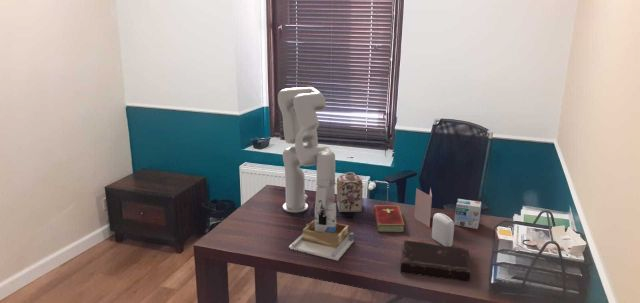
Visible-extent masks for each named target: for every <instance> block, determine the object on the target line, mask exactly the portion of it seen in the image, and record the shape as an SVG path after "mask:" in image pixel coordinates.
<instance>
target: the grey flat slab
mask: <svg viewBox="0 0 640 303" xmlns="http://www.w3.org/2000/svg"><path fill="white" fill-rule="evenodd" d="M309 224H310V223H309V222H307V223H306V224H305V227H306V226H308V225H309ZM354 235H355V233H354V232H349V235H348V236H347V237H346V238H345V239H344V240H343V241H342V242H341V244H340V245H339V246H338V247H337V248H333V247H329V246H324V245H320V244H316V243H312V242H307V241H303V233H302V234H301V235H299V236H298V237H297V238H296V239H295V240H293V242H292V243H291V244H290V245H288V249H289V248H290V250H293V249H294V251H297V250H298V252H301V253H305V252H306V254H309V255H314V256H317V257H322V258H325V259H330V260H334V261H339V260H340V259H341V257H342V256H343V255H344V254H345V252H347V250H348V249H349V248H350V247H351V246H352V244H353V243H354V238H355V237H354Z"/></svg>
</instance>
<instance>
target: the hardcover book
mask: <svg viewBox="0 0 640 303" xmlns="http://www.w3.org/2000/svg"><path fill="white" fill-rule="evenodd" d="M373 212H374V218H375V223H376V230H377V232H399V233H401V232H402V233H403V232H404V227H405V225H406V224H405V222H404V219H403V215H402V212H401V209H400V205H384V204H383V205H379V204H376V205H374V207H373Z"/></svg>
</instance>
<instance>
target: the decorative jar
mask: <svg viewBox="0 0 640 303" xmlns="http://www.w3.org/2000/svg"><path fill="white" fill-rule="evenodd" d="M363 186H364V185H363V179H362V177H361V176H360V175H358V174H355V172H351V171H349V172H345V174H341V175H339V176H337V179H336V205H337V208H338V212H339V213H354V212H356V213H357V212H359V213H360V212H362V211H363V194H364V193H363V190H364V189H363Z"/></svg>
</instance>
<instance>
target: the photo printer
mask: <svg viewBox="0 0 640 303" xmlns="http://www.w3.org/2000/svg"><path fill="white" fill-rule="evenodd" d="M454 222H455V221H454V220H453V219H451V218H450V217H449V216H448V215H446V214H444V213H441V212H437V213H434V215H433V218H432V226H431V227H432V228H431V229H432V230H431V239H433V240H435V241H436V242H437V243H439V245H441V246H450V247H453V246H452V245H453V244H454V233H455V232H454V231H455V225H454Z"/></svg>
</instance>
